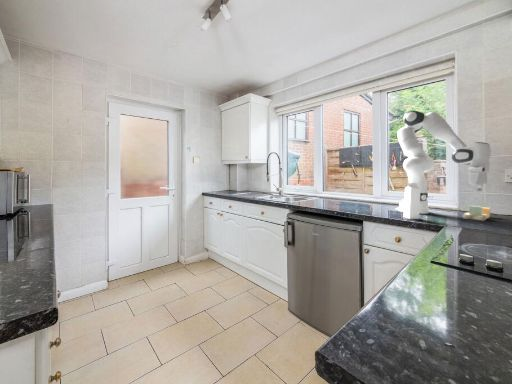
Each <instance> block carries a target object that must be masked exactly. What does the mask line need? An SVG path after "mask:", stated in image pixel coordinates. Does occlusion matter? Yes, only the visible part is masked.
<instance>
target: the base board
mask: <svg viewBox="0 0 512 384" xmlns="http://www.w3.org/2000/svg"><path fill="white" fill-rule="evenodd" d="M487 217H488V215H486V214H482V215H471V214H469V212H464V213H463V214H462V219H468V220H474V221H486V220H487V219H488V218H487Z"/></svg>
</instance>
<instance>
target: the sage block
mask: <svg viewBox="0 0 512 384" xmlns="http://www.w3.org/2000/svg"><path fill="white" fill-rule="evenodd" d="M482 207H483V206H481V205H480V206H479V205H469V212H468V213H469V214H471V215H482Z"/></svg>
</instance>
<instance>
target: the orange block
mask: <svg viewBox="0 0 512 384" xmlns="http://www.w3.org/2000/svg"><path fill="white" fill-rule="evenodd" d="M482 214H486V215H488V217H487V219H490V217H491V207H483V206H482Z"/></svg>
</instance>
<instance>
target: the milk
mask: <svg viewBox="0 0 512 384" xmlns="http://www.w3.org/2000/svg"><path fill="white" fill-rule="evenodd" d="M403 195H404V197H403V199H404V212H403V216H402V217H403V218H404V217H405V219H408V220H419V219H420V213H419V206H420V187H418V186H417V183H409V182H408V183H407V186H405V187H404V194H403Z"/></svg>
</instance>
